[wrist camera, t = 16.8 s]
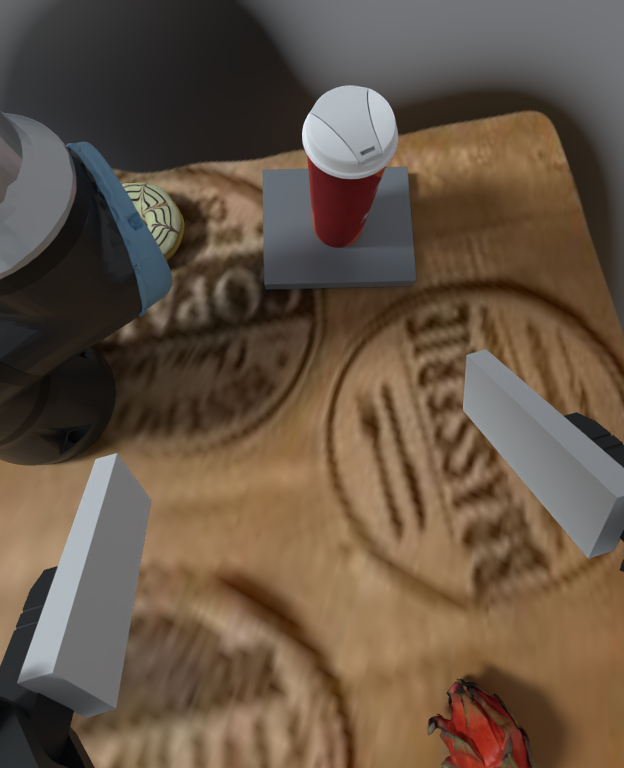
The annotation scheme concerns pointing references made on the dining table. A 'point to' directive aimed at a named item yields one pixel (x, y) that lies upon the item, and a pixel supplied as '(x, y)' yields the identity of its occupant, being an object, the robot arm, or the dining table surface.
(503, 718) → the dragon fruit
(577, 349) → the dining table surface
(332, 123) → the coffee cup
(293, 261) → the slate board
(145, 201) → the decorated donut
